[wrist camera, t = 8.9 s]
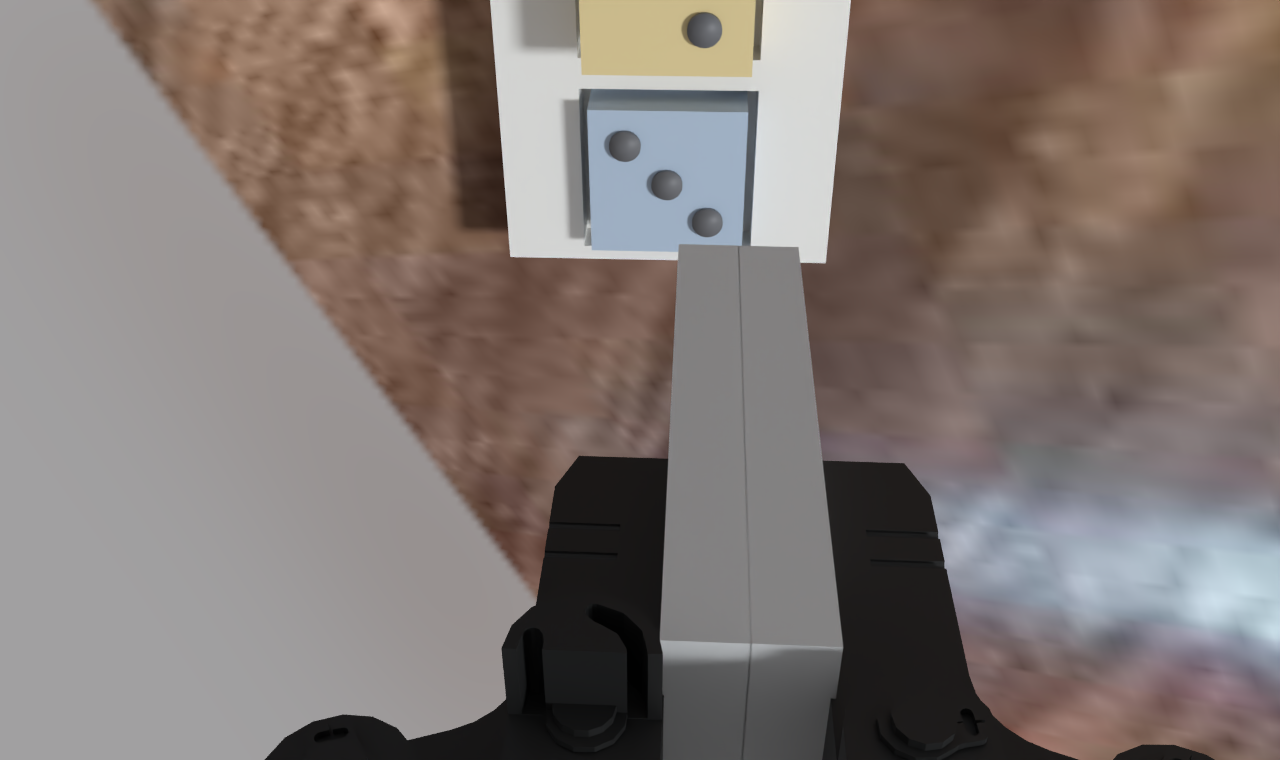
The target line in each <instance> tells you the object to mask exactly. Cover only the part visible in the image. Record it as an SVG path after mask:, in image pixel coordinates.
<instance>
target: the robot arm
mask: <svg viewBox="0 0 1280 760" xmlns="http://www.w3.org/2000/svg"><path fill="white" fill-rule="evenodd" d="M944 562H945V561H944V557H943V552H942V547H941V543H940V539H938V529H937V524H936V519H935V515H934V510H933V506H932V501H931V496H930V495H929V493H928V492H927V491H926V490H925V489H924V487H923V486H922V485H921V484H920V482H919V481H918V480H917V479H916V477H915V476H914V475H913V474H912V472H911V471H910V470H909V469H908V468H907V466H906V465H905V464H904V463H876V462H844V461H822V453H821V444H820V435H819V426H818V417H817V408H816V399H815V390H814V381H813V372H812V363H811V354H810V345H809V336H808V327H807V318H806V309H805V301H804V292H803V283H802V274H801V265H800V256H799V247H775V246H735V245H695V244H679V248H678V268H677V289H676V310H675V331H674V352H673V373H672V394H671V415H670V435H669V456H668V459H658V458H627V457H595V456H579V457H578V458H577V459H576V461H575V462H574V463H573V464H572V466H571V467H570V468H569V469H568V471H567V472H566V473H565V475H564V476H563V477H562V478H561V480H560V481H559V482H558V483H557V485H556V486H555V490H554V497H553V503H552V509H551V515H550V522H549V529H548V534H547V540H546V546H545V558H544V559H543V565H542V571H541V578H540V584H539V590H538V596H537V602H536V606H533V607H531V608H530V609H529V610H528V611H527V612H526V613H525V614H524V615H523V616H522V617H520V618H519V619H518V620H517V621H516V622H515V623H514V624H513V625H512V626H511V628H510V631H509V633H508V635H507V637H506V639H505V642H504V644H503V646H502V658H503V669H504V679H505V689H506V700H505V701H504V702H503V703H502V704H501V705H499V706H498V707H497V708H496V709H495V710H494V711H492V712H490V713H489V714H487V715H485V716H484V717H482V718H480V719H478V720H477V721H475V722H473V723H470V724H467V725H464V726H461V727H458V728H455V729H452V730H449V731H444V732H440V733H437V734H432V735H428V736H424V737H420V738H416V739H412V740H406V738H405V737H404V736H403V735H402V733H401V732H400V731H399V730H398V729H397V728H396V727H393V726H391V725H389V724H387V723H385V722H383V721H381V720H379V719H376V718H374V717H369V716H355V715H339V716H335V717H331V718H327V719H323V720H319V721H314V722H312V723H310V724H308V725H306V726H305V727H303V728H301V729H299V730H298V731H296V732H294V733H293V734H291V735H289V736H287V737H285V738H284V739H283V741H281V743H280V744H279V745H278V746H277V747H276V748H275V749H274V750H273V751H272V752H271V753H270V754H269V756H268V757H267V758H266V759H265V760H1078V759H1075V758H1071V757H1068V756H1065V755H1062V754H1059V753H1056V752H1052V751H1050V750H1047V749H1045V748H1042V747H1040V746H1038V745H1035V744H1033V743H1030V742H1028V741H1026V740H1024V739H1023V738H1021V737H1020V736H1018V735H1017V734H1015V733H1013V732H1012V731H1010V730H1009V729H1007V728H1006V727H1004V726H1003V725H1002V724H1001V723H1000V722H999V721H998V720H997V719H996V718H995V717H994V716H993V715H992V713H991V711H990V709H989V708H988V707H987V706H986V705H985V704H984V703H983V702H982V701H981V700H980V699H979V697H978V696H977V694H976V693H975V690H974V687H973V684H972V682H971V679H970V676H969V672H968V668H967V663H966V659H965V654H964V649H963V645H962V640H961V635H960V631H959V626H958V621H957V617H956V612H955V608H954V603H953V598H952V594H951V589H950V584H949V580H948V575H947V570H946V569H945V568H944ZM1113 760H1214V759H1212V758H1211V757H1209V756H1207V755H1205V754H1202V753H1198V752H1195V751H1192V750H1189V749H1185V748H1182V747H1179V746H1176V745H1141V746H1138V747H1135V748H1133V749H1130V750H1128V751H1125V752H1122V753H1120V754H1118V755H1117V756H1116V757H1115V758H1114V759H1113Z"/></svg>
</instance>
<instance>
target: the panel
mask: <svg viewBox="0 0 1280 760" xmlns="http://www.w3.org/2000/svg"><path fill="white" fill-rule="evenodd" d="M850 3H851V0H756V5H755V25H754V46H753V66H752V77H704V76H627V75H582V74H581V46H580V18H579V0H490V5H491V18H492V30H493V43H494V55H495V68H496V81H497V93H498V106H499V119H500V131H501V144H502V157H503V169H504V182H505V195H506V207H507V220H508V232H509V245H510V257H542V258H593V259H644V260H678V252H659V251H607V250H592V241H591V211H590V182H589V153H588V123H587V108H588V103H589V98H590V93H591V89H644V90H718V91H747V96H748V130H747V151H746V171H745V192H744V212H743V233H742V246H775V247H799V256H800V263H826V254H827V243H828V233H829V222H830V212H831V201H832V191H833V180H834V170H835V160H836V149H837V139H838V128H839V118H840V107H841V97H842V86H843V76H844V65H845V55H846V44H847V34H848V23H849V13H850Z"/></svg>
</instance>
